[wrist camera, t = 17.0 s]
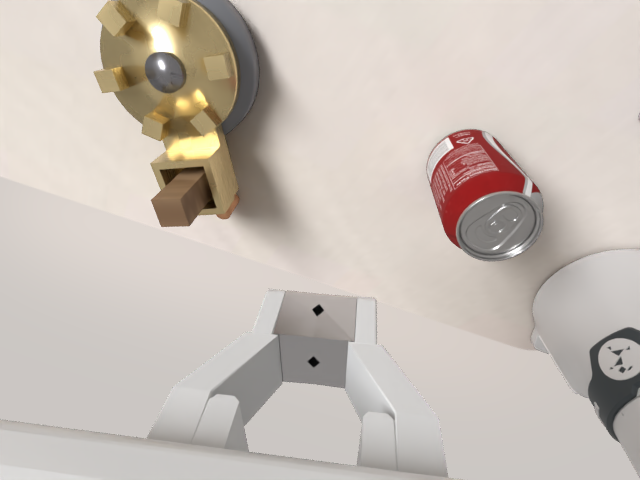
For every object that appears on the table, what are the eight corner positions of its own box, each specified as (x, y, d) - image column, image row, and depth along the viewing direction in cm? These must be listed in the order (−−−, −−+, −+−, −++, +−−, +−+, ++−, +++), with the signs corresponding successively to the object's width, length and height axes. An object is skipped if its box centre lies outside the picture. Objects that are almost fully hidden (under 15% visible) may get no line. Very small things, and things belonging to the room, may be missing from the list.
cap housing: (315, 56, 31) (310, 62, 29) (235, 207, 40) (227, 221, 38) (134, -65, 28) (112, -71, 25) (93, 130, 37) (73, 139, 35)
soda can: (410, 168, 36) (426, 235, 26) (463, 111, 32) (505, 163, 22) (460, 206, 37) (493, 282, 27) (516, 155, 34) (577, 222, 24)
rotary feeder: (267, 189, 36) (255, 212, 32) (165, 196, 38) (142, 218, 34) (220, -22, 27) (196, -24, 23) (87, 0, 29) (45, 1, 25)
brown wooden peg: (219, 187, 35) (189, 226, 29) (195, 188, 35) (161, 226, 29) (212, 163, 34) (180, 199, 28) (188, 164, 34) (150, 200, 28)
